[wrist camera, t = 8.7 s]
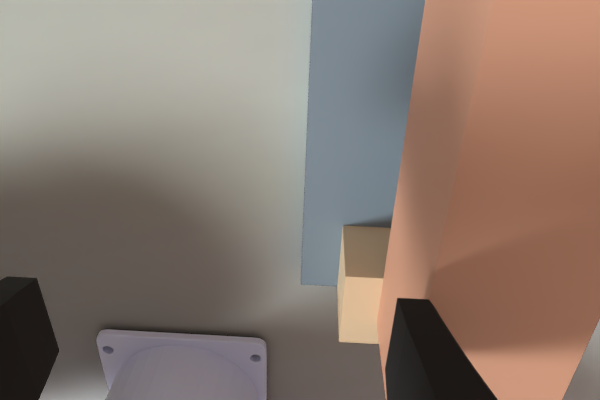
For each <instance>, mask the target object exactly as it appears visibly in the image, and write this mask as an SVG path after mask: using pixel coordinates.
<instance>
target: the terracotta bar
mask: <svg viewBox="0 0 600 400" xmlns="http://www.w3.org/2000/svg"><path fill="white" fill-rule="evenodd" d="M397 298H411V299H429V300H430V302H431V303H432V304H433V305H434V307H435V308H436V310H437V312H438V313H439V315H440V316H441V318H442V320H443V321H444V323H445V324H446V326H447V328H448V329H449V331H450V332H451V334H452V335H453V337H454V338H455V340H456V341H457V343H458V344H459V346H460V347H461V349H462V350H463V352H464V353H465V355H466V356H467V358H468V359H469V361H470V362H471V363H472V365H473V366H474V368H475V369H476V371H477V372H478V373H479V375H480V376H481V377H482V379H483V380H484V381H485V383H486V384H487V386H488V387H489V388H490V390H491V391H492V392H493V394H494V395H495V397H496V398H497V399H498V400H562V399H563V397H564V394H565V392H566V390H567V388H568V386H569V384H570V381H571V379H572V377H573V375H574V373H575V371H576V369H577V366H578V364H579V362H580V360H581V358H582V356H583V353H584V351H585V349H586V347H587V345H588V343H589V340H590V338H591V336H592V334H593V332H594V330H595V328H596V325H597V323H598V321H599V319H600V0H425V5H424V12H423V18H422V25H421V32H420V38H419V45H418V52H417V58H416V65H415V72H414V78H413V85H412V92H411V98H410V105H409V111H408V118H407V125H406V131H405V138H404V145H403V151H402V158H401V165H400V171H399V178H398V185H397V191H396V198H395V205H394V211H393V218H392V225H391V231H390V238H389V245H388V251H387V258H386V264H385V271H384V278H383V284H382V291H381V298H380V304H379V311H378V318H377V331H378V340H379V348H380V356H381V365H382V373H383V381H384V390H385V398H386V400H387V392H386V377H385V366H386V360H387V355H388V349H389V343H390V337H391V332H392V326H393V320H394V314H395V309H396V303H397Z"/></svg>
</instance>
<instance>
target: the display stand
mask: <svg viewBox="0 0 600 400" xmlns="http://www.w3.org/2000/svg"><path fill="white" fill-rule="evenodd" d="M424 5H425V0H312V19H311V44H310V68H309V93H308V118H307V142H306V167H305V192H304V216H303V241H302V266H301V284H302V285H321V286H337V293H338V328H339V342H351V343H369V344H379V340H378V331H377V318H378V311H379V304H380V298H381V291H382V284H383V278H384V271H385V264H386V258H387V251H388V245H389V238H390V231H391V225H392V218H393V211H394V205H395V198H396V191H397V185H398V178H399V171H400V165H401V158H402V151H403V145H404V138H405V131H406V125H407V118H408V111H409V105H410V98H411V92H412V85H413V78H414V72H415V65H416V58H417V52H418V45H419V38H420V32H421V25H422V18H423V12H424Z"/></svg>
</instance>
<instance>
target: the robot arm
mask: <svg viewBox="0 0 600 400" xmlns="http://www.w3.org/2000/svg"><path fill="white" fill-rule="evenodd" d="M96 343H97V347H98V351H99V355H100V359H101V363H102V367H103V370H104V374H105V378H106V382H107V386H108V390H109V393H108V395H107V397H106V399H105V400H267V345H266V343H265V341H264V340H262V339H260V338H254V337H236V336H218V335H200V334H182V333H165V332H147V331H129V330H111V329H105V330H102V331H100V332H99V334H98V336H97V338H96ZM58 352H59V348H58V345H57V342H56V338H55V335H54V332H53V329H52V326H51V322H50V319H49V316H48V313H47V310H46V306H45V303H44V300H43V297H42V294H41V290H40V287H39V284H38V281H37V278H22V277H6V278H4V279H2V280H0V400H39V398H40V395H41V393H42V391H43V388H44V386H45V384H46V382H47V379H48V377H49V375H50V372H51V370H52V367H53V365H54V362H55V360H56V357H57V355H58ZM255 355H259V356H255ZM385 377H386V392H387V400H498V399H497V398H496V397H495V395H494V394H493V392H492V391H491V390H490V388H489V387H488V386H487V384H486V383H485V381H484V380H483V379H482V377H481V376H480V375H479V373H478V372H477V371H476V369H475V368H474V366H473V365H472V363H471V362H470V361H469V359H468V358H467V356H466V355H465V353H464V352H463V350H462V349H461V347H460V346H459V344H458V343H457V341H456V340H455V338H454V337H453V335H452V334H451V332H450V331H449V329H448V328H447V326H446V324H445V323H444V321H443V320H442V318H441V316H440V315H439V313H438V312H437V310H436V308H435V307H434V305H433V304H432V303H431V302H430V300H429V299H411V298H397V303H396V309H395V314H394V320H393V326H392V332H391V337H390V343H389V349H388V355H387V360H386V366H385Z"/></svg>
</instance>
